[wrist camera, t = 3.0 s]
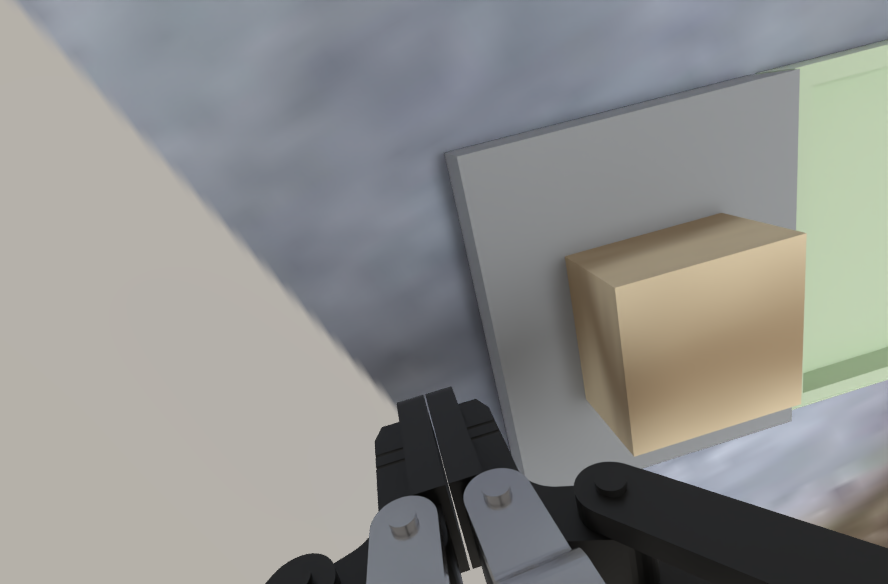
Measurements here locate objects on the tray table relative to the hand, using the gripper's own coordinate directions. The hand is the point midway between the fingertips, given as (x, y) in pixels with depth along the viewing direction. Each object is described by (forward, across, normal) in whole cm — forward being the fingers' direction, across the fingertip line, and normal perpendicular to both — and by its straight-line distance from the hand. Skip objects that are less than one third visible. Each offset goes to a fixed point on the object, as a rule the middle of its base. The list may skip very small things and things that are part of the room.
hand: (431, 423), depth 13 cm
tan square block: (+2, -8, 0) cm, 8 cm away
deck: (+4, -8, 0) cm, 9 cm away
